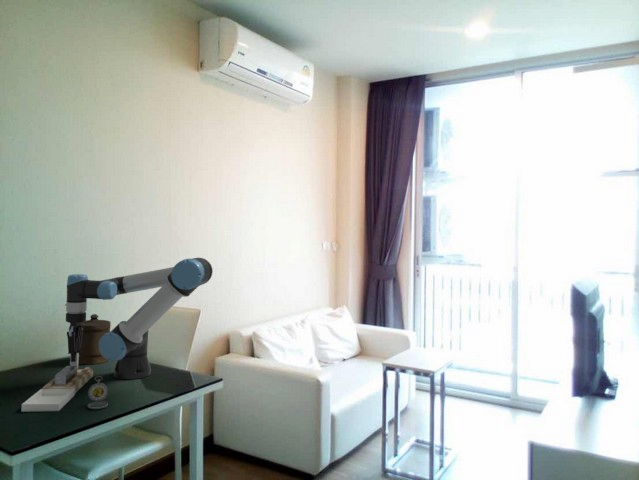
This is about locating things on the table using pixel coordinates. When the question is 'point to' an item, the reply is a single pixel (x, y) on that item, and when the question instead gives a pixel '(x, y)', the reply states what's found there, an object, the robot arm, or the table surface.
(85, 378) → the slot board
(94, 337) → the wooden container
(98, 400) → the pocket watch
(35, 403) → the tray
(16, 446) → the table surface
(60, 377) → the grey cubic block
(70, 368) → the gray cube
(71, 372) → the grey square block
